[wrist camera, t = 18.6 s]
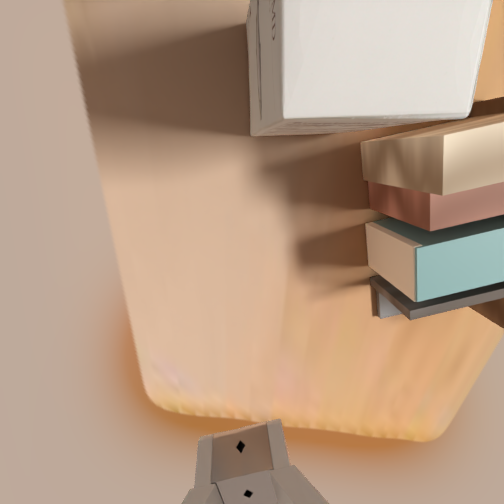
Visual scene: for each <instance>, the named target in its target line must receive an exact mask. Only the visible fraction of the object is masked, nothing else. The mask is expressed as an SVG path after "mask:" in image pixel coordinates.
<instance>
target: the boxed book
mask: <svg viewBox="0 0 504 504" xmlns="http://www.w3.org/2000/svg"><path fill="white" fill-rule="evenodd" d="M365 226H366V239H367V252H368V266H369V267H370V268H372V269H373V270H374V271H375V272H377V273H378V274H379V275H381V276H382V277H383V278H384V279H386V280H387V281H388V282H390V283H391V284H392V285H393V286H395V287H396V288H397V289H399V290H400V291H401V292H402V293H404V294H405V295H406V296H408V297H409V298H410V299H411V300H413V301H414V302H415V301H417V302H420V301H424V300H428V299H432V298H436V297H441V296H445V295H449V294H453V293H457V292H461V291H465V290H470V289H474V288H478V287H482V286H486V285H490V284H494V283H499V282H503V281H504V214H503V215H498V216H494V217H490V218H486V219H481V220H477V221H473V222H468V223H464V224H460V225H455V226H451V227H447V228H443V229H438V230H434V231H427V230H425V229H422V228H420V227H417V226H414V225H412V224H409V223H406V222H404V221H401V220H398V219H396V218H393V217H391V218H386V219H382V220H378V221H374V222H369V223H365Z"/></svg>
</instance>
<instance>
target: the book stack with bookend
mask: <svg viewBox="0 0 504 504" xmlns="http://www.w3.org/2000/svg"><path fill="white" fill-rule="evenodd" d="M360 143H361V157H362V171H363V180H364V181H368V189H369V204H370V209H372V210H375V211H377V212H380V213H383V214H385V215H388V216H390V217H393V218H396V219H398V220H401V221H404V222H406V223H409V224H412V225H414V226H417V227H420V228H422V229H425V230H427V231H434V230H438V229H443V228H447V227H451V226H455V225H460V224H464V223H468V222H473V221H477V220H481V219H486V218H490V217H494V216H498V215H503V214H504V97H500V98H495V99H490V100H485V101H481V102H476V103H473V105H472V108H471V111H470V118H465V119H461V120H457V121H452V122H448V123H443V124H439V125H434V126H430V127H425V128H421V129H416V130H412V131H407V132H403V133H398V134H394V135H390V136H385V137H381V138H376V139H372V140H367V141H363V142H360ZM370 283H371V286H372V287H373V288H375V289H376V295H377V311H378V317H379V318H380V319H382V318H386V317H390V316H394V315H399V314H404V315H405V316H406V317H407V318H408V319H409V320H413V319H417V318H421V317H426V316H430V315H434V314H438V313H442V312H446V311H451V310H455V309H459V308H463V307H467V306H468V307H470V308H472V309H473V310H475V311H476V312H478V313H480V314H481V315H483V316H484V317H486V318H488V319H489V320H491V321H492V322H494V323H496V324H497V325H499V326H500V327H502V328H504V281H503V282H499V283H494V284H490V285H486V286H482V287H478V288H474V289H470V290H465V291H461V292H457V293H453V294H449V295H445V296H441V297H436V298H432V299H428V300H424V301H420V302H417V301H415V302H414V301H413V300H411V299H410V298H409V297H408V296H406V295H405V294H404V293H402V292H401V291H400V290H399V289H397V288H396V287H395V286H393V285H392V284H391V283H390V282H388V281H387V280H386V279H384V278H383V277H382V276H381V275H378V276H374V277H370Z"/></svg>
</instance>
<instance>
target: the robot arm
mask: <svg viewBox="0 0 504 504" xmlns="http://www.w3.org/2000/svg"><path fill="white" fill-rule="evenodd" d="M182 504H329V503H328V502H327V501H326V500H325V498H324V497H323V496H322V495H321V494H320V493H319V492H318V491H317V490H316V489H315V487H314V486H313V485H312V484H311V483H310V482H309V481H308V479H307V478H306V477H305V476H304V475H303V474H302V473H301V472H300V471H299V470H298V468H297V467H296V466H295V465H291V463H290V458H289V454H288V449H287V445H286V441H285V436H284V432H283V428H282V423H281V419H276V420H272V421H268V422H267V421H266V422H262V423H258V424H254V425H250V426H246V427H242V428H240V429H236V430H230V431H225V432H220V433H215V434H211V435H206V436H202V437H200V438H199V441H198V451H197V463H196V474H195V485H194V488H193V489H190V490H189V492H188V494H187V495H186V497H185V499H184V500H183V502H182Z"/></svg>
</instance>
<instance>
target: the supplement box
mask: <svg viewBox="0 0 504 504" xmlns="http://www.w3.org/2000/svg"><path fill="white" fill-rule="evenodd" d="M492 2H493V0H250V4H249V9H248V15H247V20H246V29H247V42H248V57H249V90H250V135H251V136H276V135H306V134H327V133H343V132H352V131H361V130H369V129H376V128H384V127H391V126H398V125H405V124H413V123H421V122H429V121H437V120H453V119H463V118H466V117H467V116H468V115H469V113H470V111H471V108H472V105H473V99H474V94H475V89H476V84H477V78H478V72H479V67H480V62H481V58H482V53H483V48H484V43H485V37H486V32H487V27H488V22H489V17H490V12H491V7H492Z"/></svg>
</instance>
